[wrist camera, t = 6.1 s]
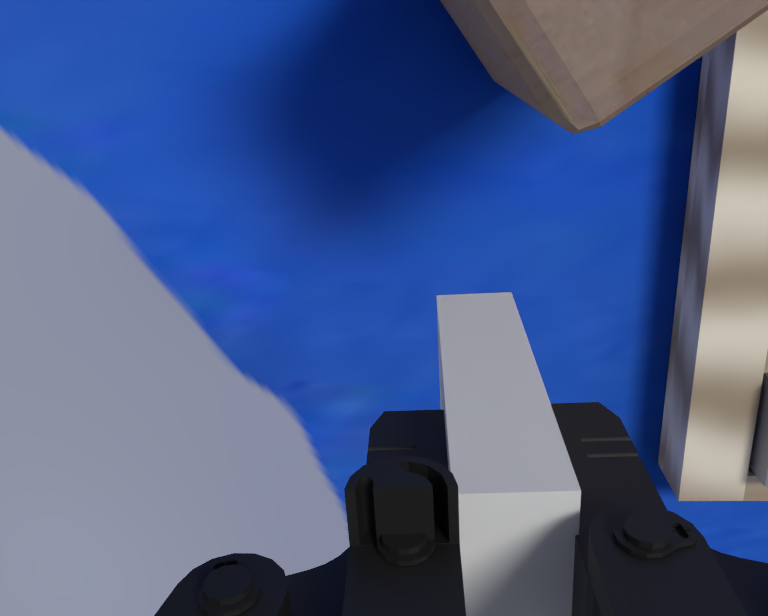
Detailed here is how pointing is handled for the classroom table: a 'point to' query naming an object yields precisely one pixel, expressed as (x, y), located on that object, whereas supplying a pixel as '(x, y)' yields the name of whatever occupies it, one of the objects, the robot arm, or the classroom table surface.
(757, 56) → the button panel
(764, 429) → the charcoal button
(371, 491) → the robot arm
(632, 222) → the classroom table surface
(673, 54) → the wooden block
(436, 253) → the classroom table surface
